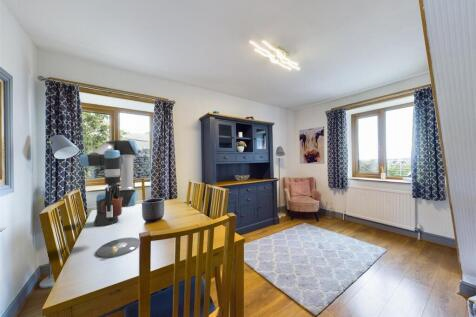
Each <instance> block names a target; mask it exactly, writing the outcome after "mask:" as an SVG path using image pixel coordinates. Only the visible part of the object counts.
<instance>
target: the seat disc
mask: <svg viewBox="0 0 476 317" xmlns="http://www.w3.org/2000/svg"><path fill="white" fill-rule="evenodd" d="M139 240H140V239H139V238H138V237H137V238H136V237H122V238H117V239H115V240H110V241H108V242H106V243H104V244H102V245H101V246H100V247H99V248H98V249H97V251H96V254H97V256H98V257H100V258H103V259H104V258H105V259H110V258H111V259H112V258H118V257H122V256H125V255H127V254H129V253H132V252H133V251H136V250H137V249H138V248H139V247H140V246H139Z"/></svg>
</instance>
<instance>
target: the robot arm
mask: <svg viewBox="0 0 476 317" xmlns="http://www.w3.org/2000/svg"><path fill="white" fill-rule="evenodd" d="M136 155H138V147H137V142H136V141H135V140H131V139H130V140H128V139H127V140H125V139H124V140H123V139H121V140H119V139H117V140H116V139H115V140H113V139H112V140H108V141H105V142H103V143H101V144H100V145H98V148H96V149H95V150H93V151H92V152H90V153H86V154H80V155H79V158H78V163H79V166H80V167H104V171H103V173H104V176H105V177H104V183H105V184H108V185H107V186H106V187H105V188H104V190H105V192H100V193H98V194H97V195H96V199H95V200H96V201H95V202H96V216H95V218H94V220H93V226H94V227H95V226H96V227H105V226H110V225H113V224H116V223H117V222H118V221H119V216H117V217H113V209H112V200H113V198H114V199H118V197H123V199H122V208H129V207H134V206H135V205H136V203H137V200H138V191H137V190H136V188H134V158H136ZM119 183H120V184H119ZM103 202H105V203H104V210H105V211H106V212H103V211H102V210H101V204H102V203H103Z"/></svg>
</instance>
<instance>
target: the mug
mask: <svg viewBox="0 0 476 317" xmlns="http://www.w3.org/2000/svg"><path fill="white" fill-rule="evenodd" d="M122 199H123V197H118V199H114V198H113V200H112V209H113V217H117V216H118V217H120V216H121V215H122V213H123V207H122ZM104 203H105V202H103V203H102V204H101V210H102V211H103V212H106V211H105V210H104Z"/></svg>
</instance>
